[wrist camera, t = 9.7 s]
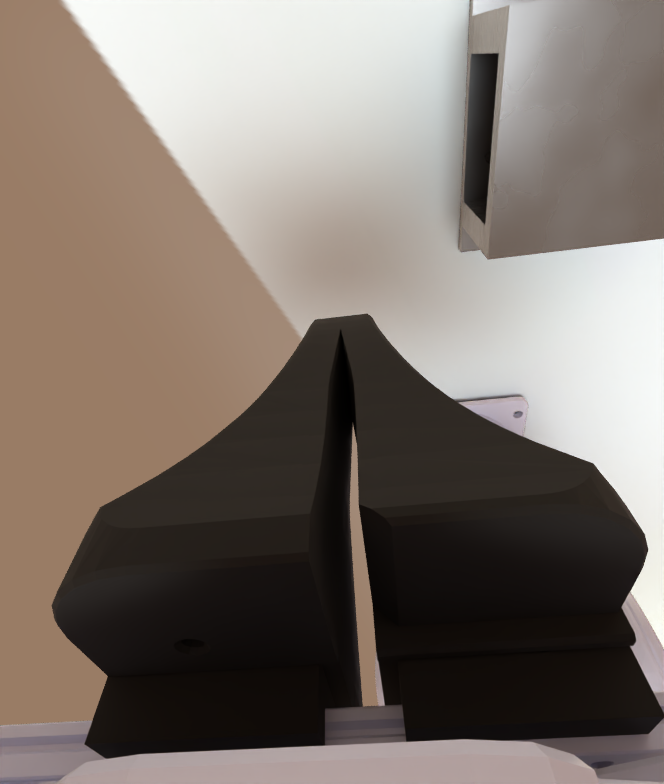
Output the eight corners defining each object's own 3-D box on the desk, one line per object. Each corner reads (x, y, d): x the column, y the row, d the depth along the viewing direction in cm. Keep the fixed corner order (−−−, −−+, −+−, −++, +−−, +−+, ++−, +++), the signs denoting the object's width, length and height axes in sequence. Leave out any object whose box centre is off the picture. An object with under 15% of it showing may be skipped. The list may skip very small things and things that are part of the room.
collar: (663, 224, 19) (735, 259, 16) (459, 249, 20) (485, 288, 16) (757, -76, 14) (896, -119, 10) (471, -29, 14) (514, -54, 11)
